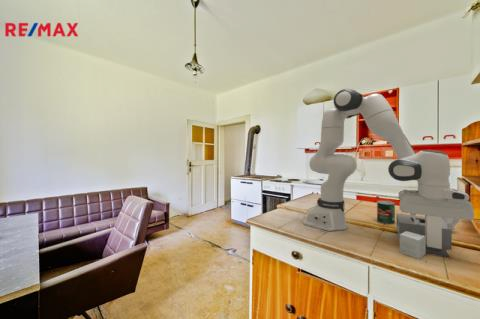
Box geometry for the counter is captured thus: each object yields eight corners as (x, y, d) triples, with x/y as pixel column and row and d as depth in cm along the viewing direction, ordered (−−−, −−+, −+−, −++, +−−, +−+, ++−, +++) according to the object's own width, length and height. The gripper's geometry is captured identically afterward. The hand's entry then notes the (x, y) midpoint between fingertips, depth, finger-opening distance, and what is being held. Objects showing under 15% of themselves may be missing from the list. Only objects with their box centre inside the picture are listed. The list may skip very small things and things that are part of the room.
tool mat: (423, 252, 75) (423, 250, 75) (419, 245, 80) (419, 242, 80) (449, 257, 70) (449, 255, 70) (443, 249, 76) (443, 246, 76)
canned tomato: (378, 223, 105) (378, 203, 104) (376, 218, 112) (375, 200, 111) (396, 225, 101) (396, 204, 100) (393, 220, 108) (392, 201, 107)
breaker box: (399, 239, 85) (399, 222, 85) (396, 228, 97) (396, 213, 96) (451, 249, 76) (451, 229, 76) (441, 235, 87) (441, 218, 87)
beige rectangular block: (427, 248, 75) (427, 214, 75) (425, 244, 78) (424, 211, 78) (441, 251, 73) (441, 215, 72) (438, 247, 76) (438, 212, 76)
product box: (406, 248, 79) (406, 230, 78) (426, 254, 73) (426, 236, 73) (399, 252, 76) (399, 234, 75) (419, 259, 70) (419, 240, 70)
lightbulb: (452, 234, 88) (452, 211, 87) (433, 229, 94) (433, 207, 93) (458, 231, 90) (458, 209, 90) (440, 227, 96) (440, 205, 96)
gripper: (399, 190, 78) (399, 224, 78) (476, 196, 66) (475, 235, 66) (397, 188, 83) (398, 219, 83) (469, 192, 71) (469, 229, 71)
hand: (433, 226), depth 75 cm, fingers open, 8 cm apart
